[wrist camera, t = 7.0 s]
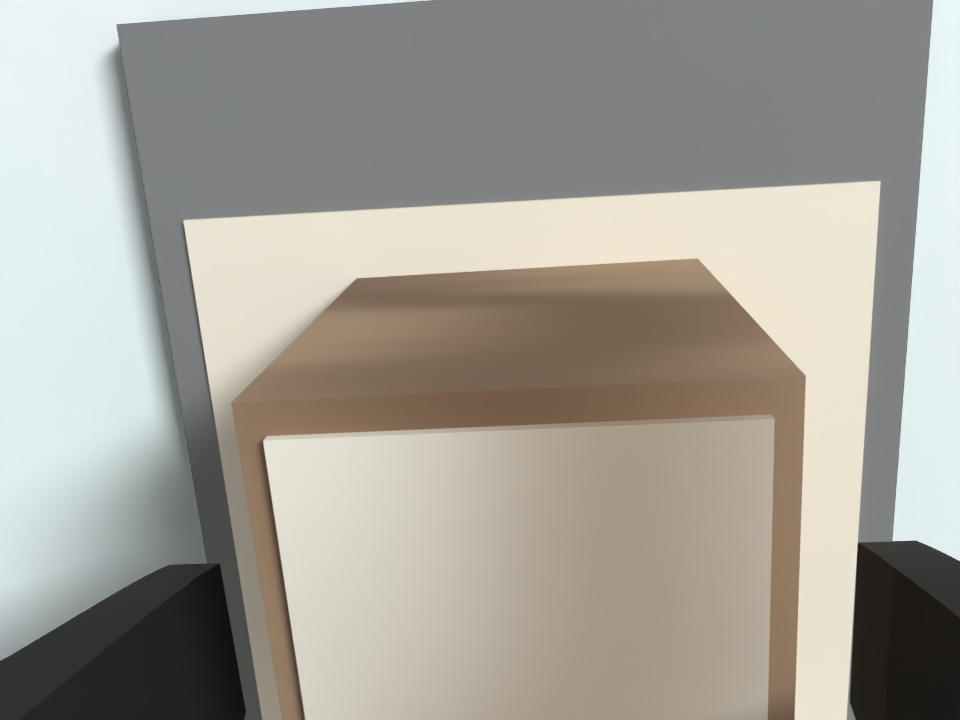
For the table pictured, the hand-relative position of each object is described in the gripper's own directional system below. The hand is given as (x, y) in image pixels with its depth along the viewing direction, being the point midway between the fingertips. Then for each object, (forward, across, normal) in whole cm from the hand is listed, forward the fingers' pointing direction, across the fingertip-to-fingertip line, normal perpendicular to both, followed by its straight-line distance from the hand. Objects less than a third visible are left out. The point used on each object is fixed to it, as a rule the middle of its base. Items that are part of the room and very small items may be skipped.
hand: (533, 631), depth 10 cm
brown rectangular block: (+3, 0, 0) cm, 3 cm away
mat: (+3, 0, 0) cm, 3 cm away
